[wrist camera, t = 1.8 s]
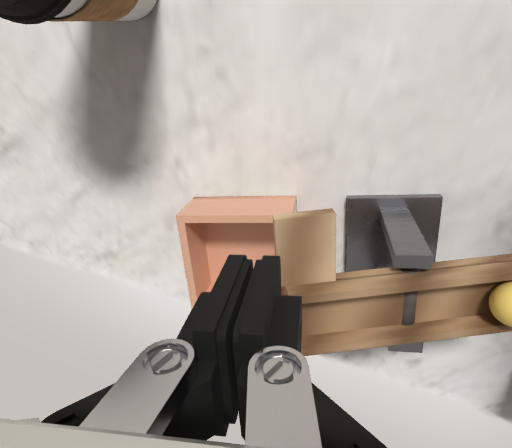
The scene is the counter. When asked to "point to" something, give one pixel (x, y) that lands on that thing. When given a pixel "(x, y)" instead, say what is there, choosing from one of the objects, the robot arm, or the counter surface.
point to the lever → (380, 292)
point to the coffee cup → (74, 10)
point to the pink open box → (226, 234)
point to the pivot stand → (392, 235)
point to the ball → (502, 303)
